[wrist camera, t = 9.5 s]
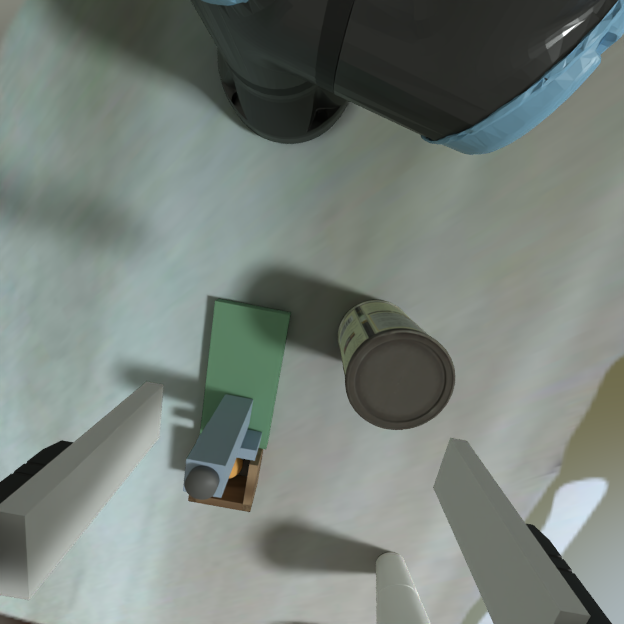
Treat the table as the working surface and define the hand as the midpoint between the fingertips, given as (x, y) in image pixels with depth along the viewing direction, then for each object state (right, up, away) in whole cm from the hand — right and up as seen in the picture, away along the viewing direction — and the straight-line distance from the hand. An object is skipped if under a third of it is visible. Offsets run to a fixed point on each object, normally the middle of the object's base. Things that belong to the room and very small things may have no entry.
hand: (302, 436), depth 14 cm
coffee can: (+9, +2, +29) cm, 30 cm away
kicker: (-10, -10, +30) cm, 34 cm away
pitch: (-9, -3, +31) cm, 32 cm away
